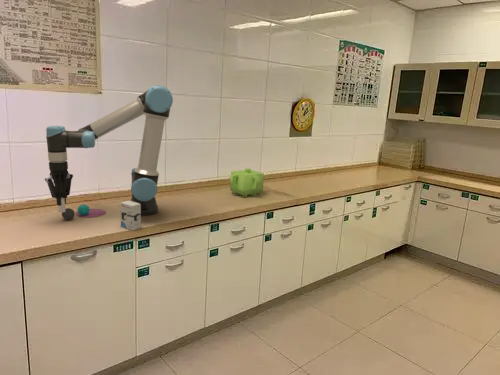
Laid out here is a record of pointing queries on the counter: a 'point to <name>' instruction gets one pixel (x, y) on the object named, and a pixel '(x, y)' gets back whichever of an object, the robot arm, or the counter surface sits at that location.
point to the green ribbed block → (246, 182)
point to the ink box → (130, 215)
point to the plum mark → (93, 213)
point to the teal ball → (83, 209)
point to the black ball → (68, 214)
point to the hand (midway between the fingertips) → (62, 211)
